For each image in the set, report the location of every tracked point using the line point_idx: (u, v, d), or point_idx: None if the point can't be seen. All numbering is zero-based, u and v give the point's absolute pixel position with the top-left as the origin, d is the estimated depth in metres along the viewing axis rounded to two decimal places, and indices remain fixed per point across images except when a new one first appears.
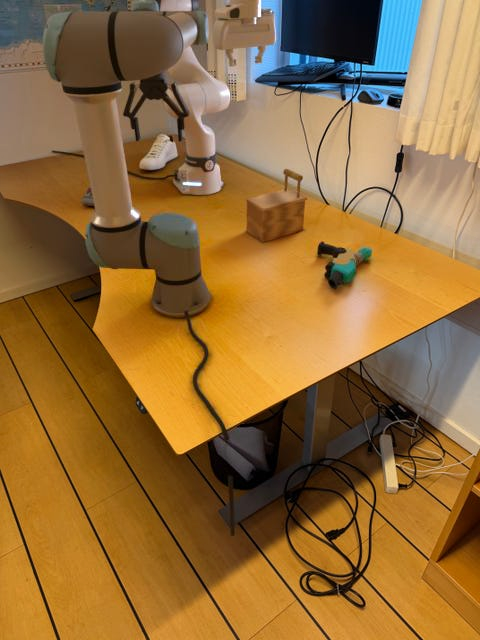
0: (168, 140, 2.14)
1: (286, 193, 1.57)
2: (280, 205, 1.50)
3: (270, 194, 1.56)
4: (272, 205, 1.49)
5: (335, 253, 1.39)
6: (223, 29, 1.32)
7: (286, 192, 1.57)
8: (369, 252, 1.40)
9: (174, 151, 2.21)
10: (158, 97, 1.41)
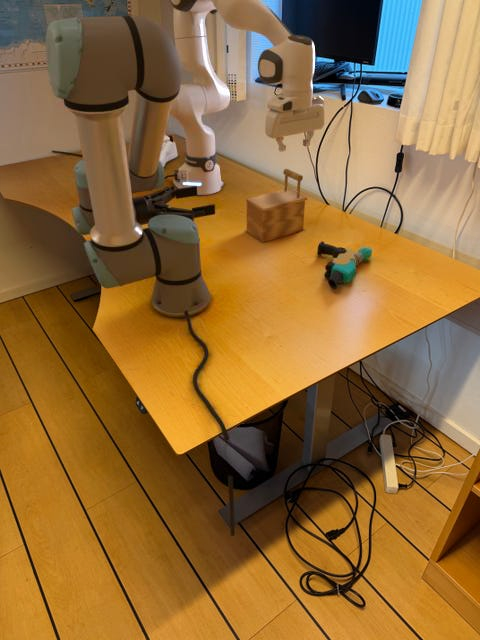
0: (168, 140, 2.14)
1: (286, 193, 1.57)
2: (280, 205, 1.50)
3: (270, 194, 1.56)
4: (272, 205, 1.49)
5: (335, 253, 1.39)
6: (276, 120, 1.36)
7: (286, 192, 1.57)
8: (369, 252, 1.40)
9: (174, 151, 2.21)
10: (161, 201, 1.32)
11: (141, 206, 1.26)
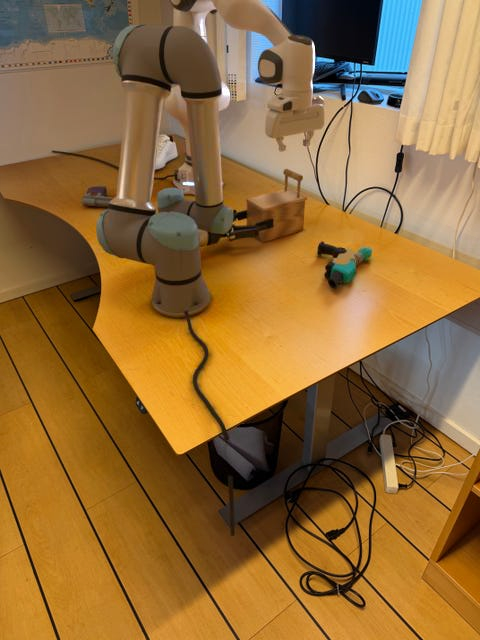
0: (168, 140, 2.14)
1: (286, 193, 1.57)
2: (280, 205, 1.50)
3: (270, 194, 1.56)
4: (272, 205, 1.49)
5: (335, 253, 1.39)
6: (276, 120, 1.36)
7: (286, 192, 1.57)
8: (369, 252, 1.40)
9: (174, 151, 2.21)
10: None
11: None
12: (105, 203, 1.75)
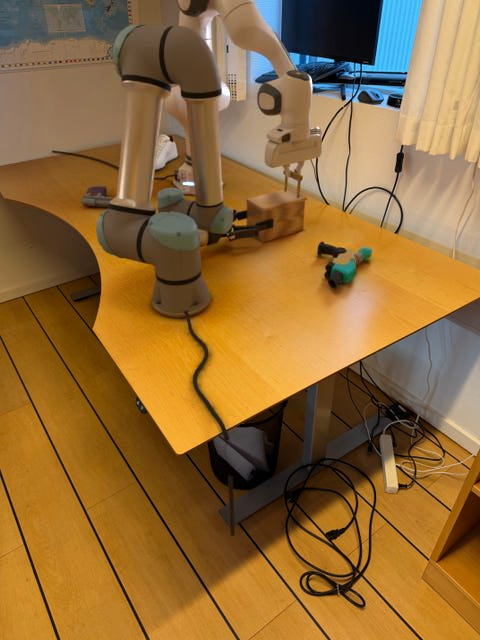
0: (168, 140, 2.14)
1: (286, 193, 1.57)
2: (280, 205, 1.50)
3: (270, 194, 1.56)
4: (272, 205, 1.49)
5: (335, 253, 1.39)
6: (275, 151, 1.41)
7: (286, 192, 1.57)
8: (369, 252, 1.40)
9: (174, 151, 2.21)
10: None
11: None
12: (105, 203, 1.75)
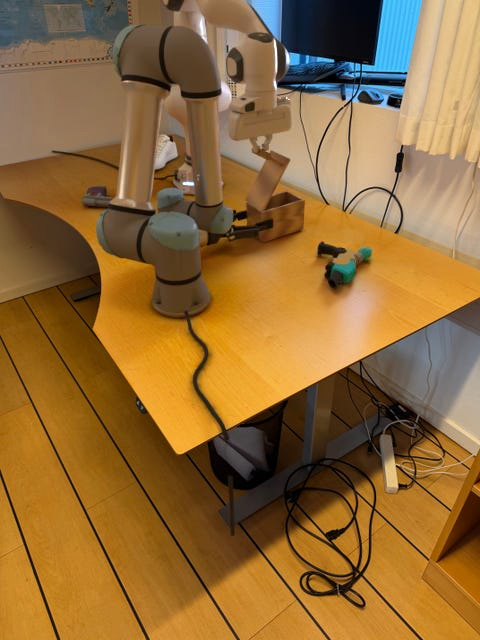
0: (168, 140, 2.14)
1: (271, 163, 1.47)
2: (272, 191, 1.45)
3: (259, 176, 1.50)
4: (266, 198, 1.46)
5: (335, 253, 1.39)
6: (238, 122, 1.30)
7: (270, 161, 1.47)
8: (369, 252, 1.40)
9: (174, 151, 2.21)
10: None
11: None
12: (105, 203, 1.75)
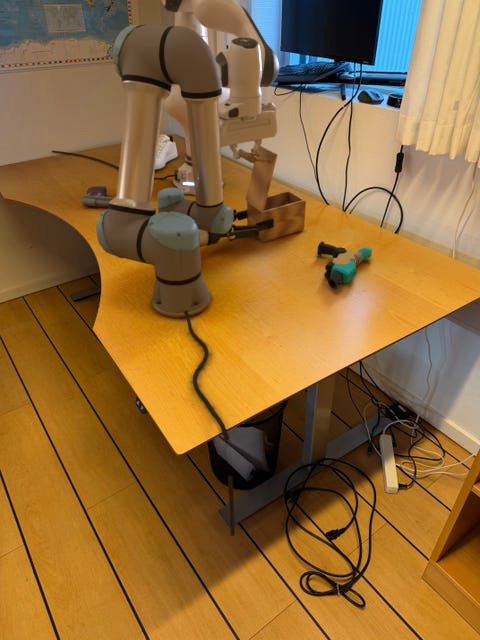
0: (168, 140, 2.14)
1: None
2: (267, 190, 1.43)
3: (253, 174, 1.48)
4: (263, 197, 1.45)
5: (335, 253, 1.39)
6: (222, 128, 1.28)
7: (260, 157, 1.44)
8: (369, 252, 1.40)
9: (174, 151, 2.21)
10: None
11: None
12: (105, 203, 1.75)
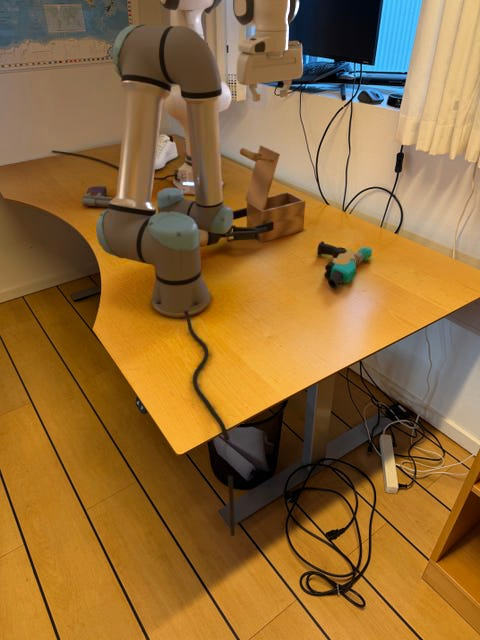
0: (168, 140, 2.14)
1: (262, 160, 1.45)
2: (268, 189, 1.44)
3: (254, 174, 1.49)
4: (263, 197, 1.45)
5: (335, 253, 1.39)
6: (248, 64, 1.23)
7: (261, 157, 1.45)
8: (369, 252, 1.40)
9: (174, 151, 2.21)
10: None
11: None
12: (105, 203, 1.75)
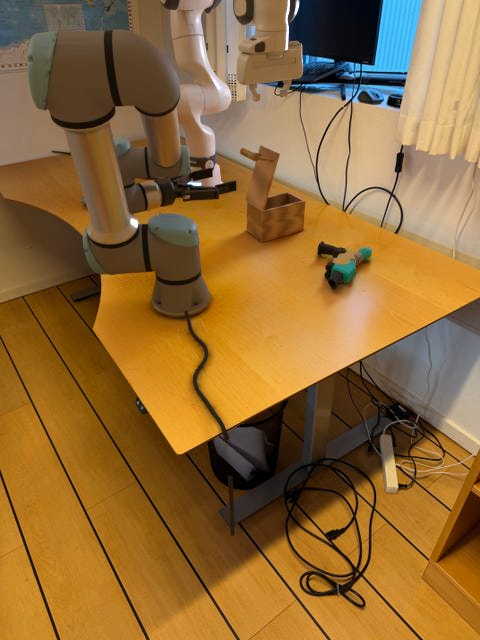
0: None
1: (262, 159, 1.45)
2: (268, 189, 1.44)
3: (254, 173, 1.49)
4: (263, 196, 1.45)
5: (335, 253, 1.39)
6: (248, 64, 1.23)
7: (261, 157, 1.45)
8: (369, 252, 1.40)
9: None
10: (182, 182, 1.34)
11: (166, 186, 1.27)
12: None
